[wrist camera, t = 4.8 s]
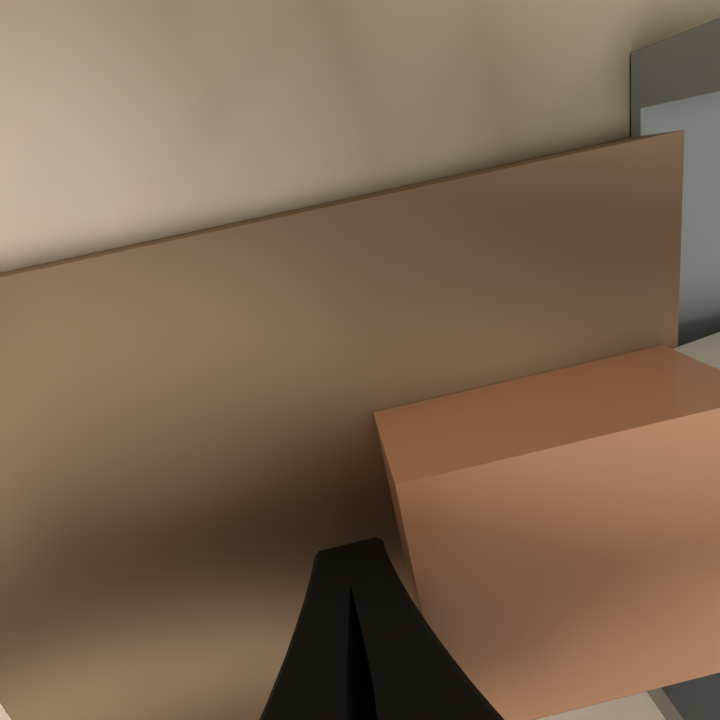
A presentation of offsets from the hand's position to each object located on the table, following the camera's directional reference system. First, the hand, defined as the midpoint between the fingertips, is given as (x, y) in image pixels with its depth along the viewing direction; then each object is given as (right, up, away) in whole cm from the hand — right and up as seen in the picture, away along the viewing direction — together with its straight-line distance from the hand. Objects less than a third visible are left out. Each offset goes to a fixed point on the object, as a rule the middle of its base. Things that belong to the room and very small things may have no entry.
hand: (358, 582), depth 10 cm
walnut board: (-1, +1, +2) cm, 3 cm away
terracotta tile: (+4, +1, +1) cm, 4 cm away
